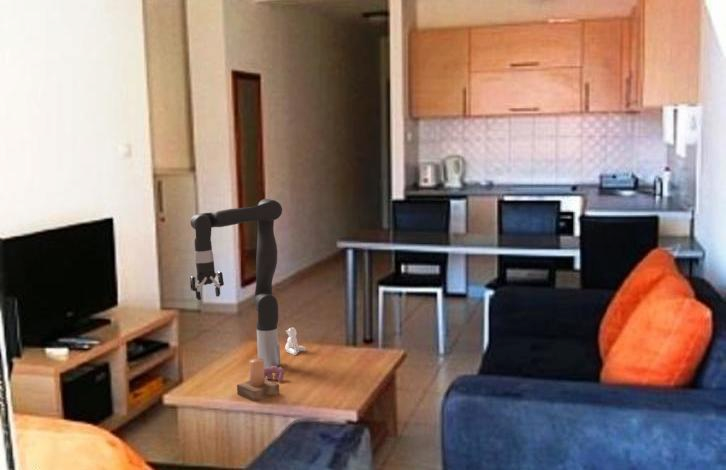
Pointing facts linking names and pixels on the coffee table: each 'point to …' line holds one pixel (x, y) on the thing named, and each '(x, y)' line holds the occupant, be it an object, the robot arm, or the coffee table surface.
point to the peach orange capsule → (257, 372)
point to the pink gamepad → (274, 369)
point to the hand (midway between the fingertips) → (208, 298)
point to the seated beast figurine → (293, 343)
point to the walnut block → (258, 390)
